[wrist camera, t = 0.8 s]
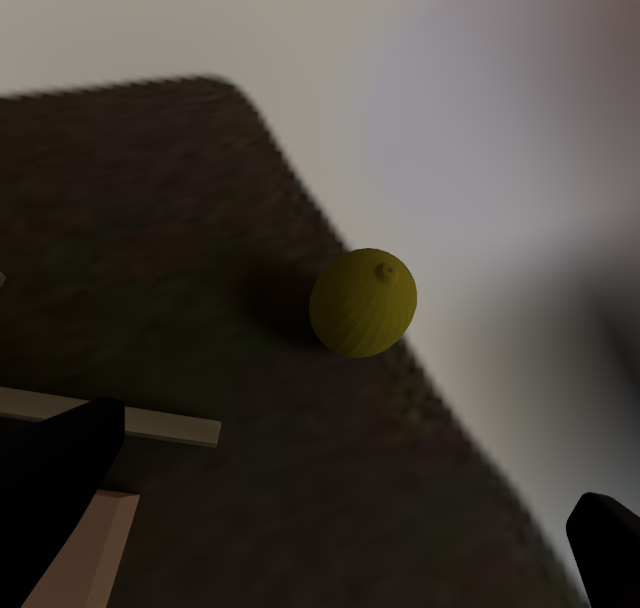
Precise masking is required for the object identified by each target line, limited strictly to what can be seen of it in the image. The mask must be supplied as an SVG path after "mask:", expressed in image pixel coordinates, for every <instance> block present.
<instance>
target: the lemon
mask: <svg viewBox="0 0 640 608" xmlns="http://www.w3.org/2000/svg"><path fill="white" fill-rule="evenodd" d="M416 305H417V290H416V285H415V281H414V279H413V277H412V275H411V273H410V271H409V270H408V268H407V267H406V266H405V265H404V263H403V262H401V261H400V260H399V259H398V258H396V257H395V256H393V255H391V254H390V253H388V252H385V251H382V250H379V249H372V248H366V249H357V250H354V251H351V252H349V253H346V254H344V255H342V256H340V257H339V258H338V259H336V260H335V261H334V262H332V263H331V264H330V265H329V266H328V267H327V268H326V269H325V270H324V271H323V273H322V274H321V275H320V277H319V278H318V280H317V281H316V283H315V285H314V288H313V291H312V294H311V297H310V303H309V316H310V320H311V325H312V327H313V329H314V331H315V333H316V335H317V337H318V338H319V339H320V341H321V342H322V343H323V344H324V345H325V346H326V347H328V348H329V349H330V350H332V351H333V352H336V353H338V354H340V355H342V356H347V357H353V358H359V357H369V356H372V355H375V354H377V353H380V352H382V351H385V350H386V349H387V348H389V347H390V346H391V345H393V344H394V343H395V342H397V341H398V340H399V339H400V337H401V336H402V335H403V333H404V332H405V331H406V329H407V328H408V326H409V325H410V323H411V320H412V318H413V315H414V312H415V309H416Z"/></svg>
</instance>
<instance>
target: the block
mask: <svg viewBox="0 0 640 608" xmlns="http://www.w3.org/2000/svg"><path fill="white" fill-rule="evenodd" d="M139 497H140V494H132V493H124V492H116V491H108V490H100V489H98V490H97V492H96V493H95V495H94V497H93V499H92V501H91V502H90V504H89V506H88V508H87V509H86V511H85V513H84V515H83V516H82V518H81V520H80V521H79V523H78V525H77V526H76V528H75V529H74V531H73V532H72V534H71V535H70V537H69V539H68V540H67V542H66V543H65V544H64V546H63V547H62V549H61V550H60V552H59V553H58V554H57V556H56V557H55V559H54V560H53V562H52V563H51V565H50V566H49V567H48V569H47V570H46V572H45V573H44V575H43V576H42V578H41V579H40V580H39V582H38V583H37V585H36V586H35V588H34V589H33V591H32V592H31V593H30V595H29V596H28V598H27V599H26V601H25V602H24V604H23V605H22V606H21V608H106V605H107V602H108V599H109V595H110V592H111V589H112V585H113V582H114V579H115V576H116V572H117V569H118V566H119V562H120V559H121V556H122V553H123V549H124V546H125V543H126V539H127V536H128V533H129V530H130V526H131V523H132V520H133V516H134V513H135V510H136V507H137V503H138V500H139Z"/></svg>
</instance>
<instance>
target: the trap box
mask: <svg viewBox="0 0 640 608" xmlns="http://www.w3.org/2000/svg"><path fill="white" fill-rule="evenodd" d="M6 278H7V277H6V276H5V275H4V274H2V273H1V272H0V288H1V286H2V285H3V283H4V281H5V280H6ZM87 402H89V401H87V400H81V399H74V398H68V397H62V396H56V395H49V394H43V393H37V392H30V391H24V390H18V389H11V388H5V387H0V417H6V418H13V419H20V420H27V421H34V422H41V421H43V420H45V419H48V418H50V417H53V416H55V415H58V414H60V413H62V412H65V411H67V410H70V409H72V408H75V407H77V406H80V405H82V404H84V403H87ZM220 426H221V422H220V421H213V420H207V419H201V418H194V417H188V416H182V415H176V414H169V413H163V412H157V411H150V410H144V409H138V408H131V407H125V435H130V436H137V437H143V438H150V439H157V440H164V441H171V442H178V443H185V444H191V445H198V446H205V447H212V448H216V445H217V440H218V436H219V432H220Z"/></svg>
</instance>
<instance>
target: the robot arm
mask: <svg viewBox="0 0 640 608" xmlns="http://www.w3.org/2000/svg"><path fill="white" fill-rule="evenodd" d="M124 438H125V405H124V403H123V402H122V401H121V400H117V399H112V398H107V397H100V398H97V399H94V400H92V401H89V402H87V403H84V404H82V405H80V406H77V407H75V408H72V409H70V410H67V411H65V412H62V413H60V414H58V415H55V416H53V417H50V418H48V419H45V420H43V421H41V422H38V423H36V424H33V425H31V426H28V427H26V428H23V429H21V430H19V431H16V432H14V433H11V434H9V435H6V436H4V437H1V438H0V608H21V606H22V605H23V604H24V602H25V601H26V599H27V598H28V596H29V595H30V593H31V592H32V591H33V589H34V588H35V586H36V585H37V583H38V582H39V580H40V579H41V578H42V576H43V575H44V573H45V572H46V570H47V569H48V567H49V566H50V565H51V563H52V562H53V560H54V559H55V557H56V556H57V554H58V553H59V552H60V550H61V549H62V547H63V546H64V544H65V543H66V542H67V540H68V539H69V537H70V535H71V534H72V532H73V531H74V529H75V528H76V526H77V525H78V523H79V521H80V520H81V518H82V516H83V515H84V513H85V511H86V509H87V508H88V506H89V504H90V502H91V501H92V499H93V497H94V495H95V493H96V492H97V490H98V488H99V486H100V484H101V483H102V481H103V479H104V477H105V476H106V474H107V472H108V470H109V468H110V467H111V465H112V463H113V461H114V460H115V458H116V456H117V454H118V452H119V451H120V449H121V447H122V444H123V442H124ZM566 533H567V537H568V540H569V543H570V546H571V549H572V552H573V555H574V557H575V560H576V563H577V566H578V569H579V572H580V575H581V578H582V581H583V584H584V587H585V590H586V593H587V596H588V598H589V601H590V604H591V607H592V608H640V517H639V516H637V515H636V514H634V513H633V512H632V511H630V510H629V509H627V508H626V507H625V506H623V505H622V504H620V503H619V502H618V501H616V500H615V499H613V498H612V497H609V496H607V495H602V494H597V493H592V492H587V493H585V494H583V495H582V496H581V498H580V500H579V501H578V503H577V505H576V506H575V508H574V510H573V511H572V513H571V515H570V516H569V518H568V520H567V523H566Z"/></svg>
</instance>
